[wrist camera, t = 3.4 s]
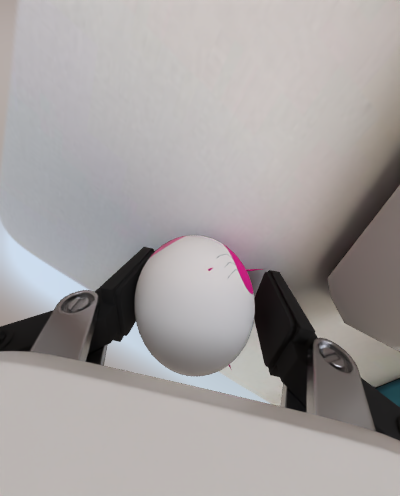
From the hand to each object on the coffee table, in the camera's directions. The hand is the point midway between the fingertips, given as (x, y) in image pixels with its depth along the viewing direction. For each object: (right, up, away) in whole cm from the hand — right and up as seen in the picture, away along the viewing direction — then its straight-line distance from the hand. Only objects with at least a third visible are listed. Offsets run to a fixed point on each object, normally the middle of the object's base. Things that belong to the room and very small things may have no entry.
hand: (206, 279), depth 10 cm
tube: (+12, +10, -5) cm, 16 cm away
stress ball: (+1, 0, +1) cm, 1 cm away
